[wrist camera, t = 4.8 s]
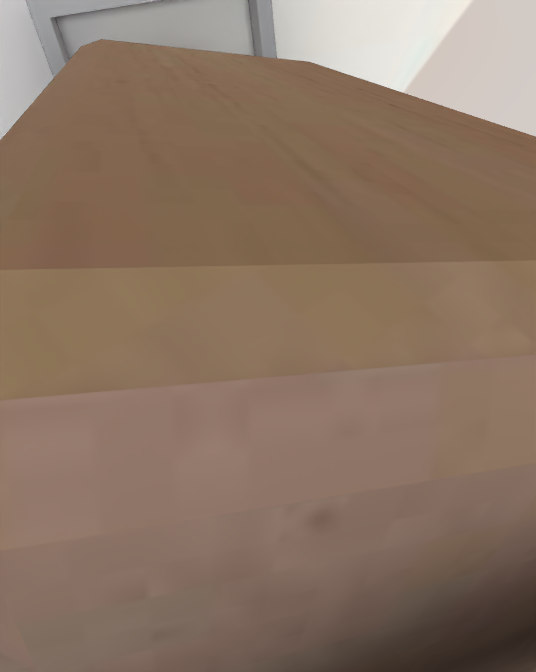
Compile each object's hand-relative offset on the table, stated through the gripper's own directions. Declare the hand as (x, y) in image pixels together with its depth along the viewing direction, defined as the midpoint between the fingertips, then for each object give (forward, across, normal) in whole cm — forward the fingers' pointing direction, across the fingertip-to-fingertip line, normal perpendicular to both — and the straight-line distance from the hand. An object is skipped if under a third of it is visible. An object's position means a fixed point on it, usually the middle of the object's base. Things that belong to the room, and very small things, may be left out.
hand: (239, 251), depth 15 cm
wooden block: (+8, 0, 0) cm, 8 cm away
